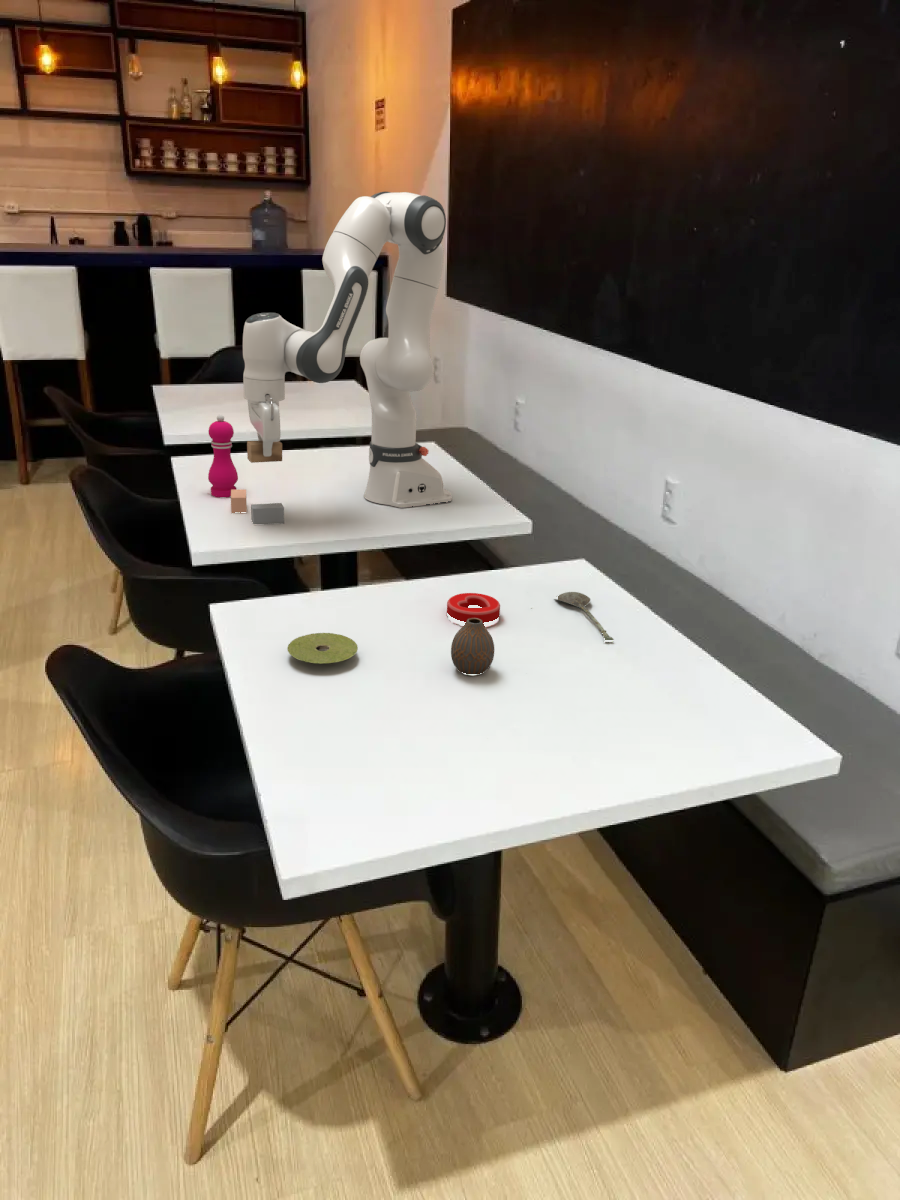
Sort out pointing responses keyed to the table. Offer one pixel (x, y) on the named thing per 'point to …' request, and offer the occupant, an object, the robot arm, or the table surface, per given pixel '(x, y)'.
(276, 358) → the robot arm
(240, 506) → the terracotta brick
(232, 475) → the pepper mill
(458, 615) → the decorative ornament
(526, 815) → the table surface
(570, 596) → the soupspoon
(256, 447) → the walnut brick
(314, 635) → the mat
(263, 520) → the slate-grey brick
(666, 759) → the table surface
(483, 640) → the vase
